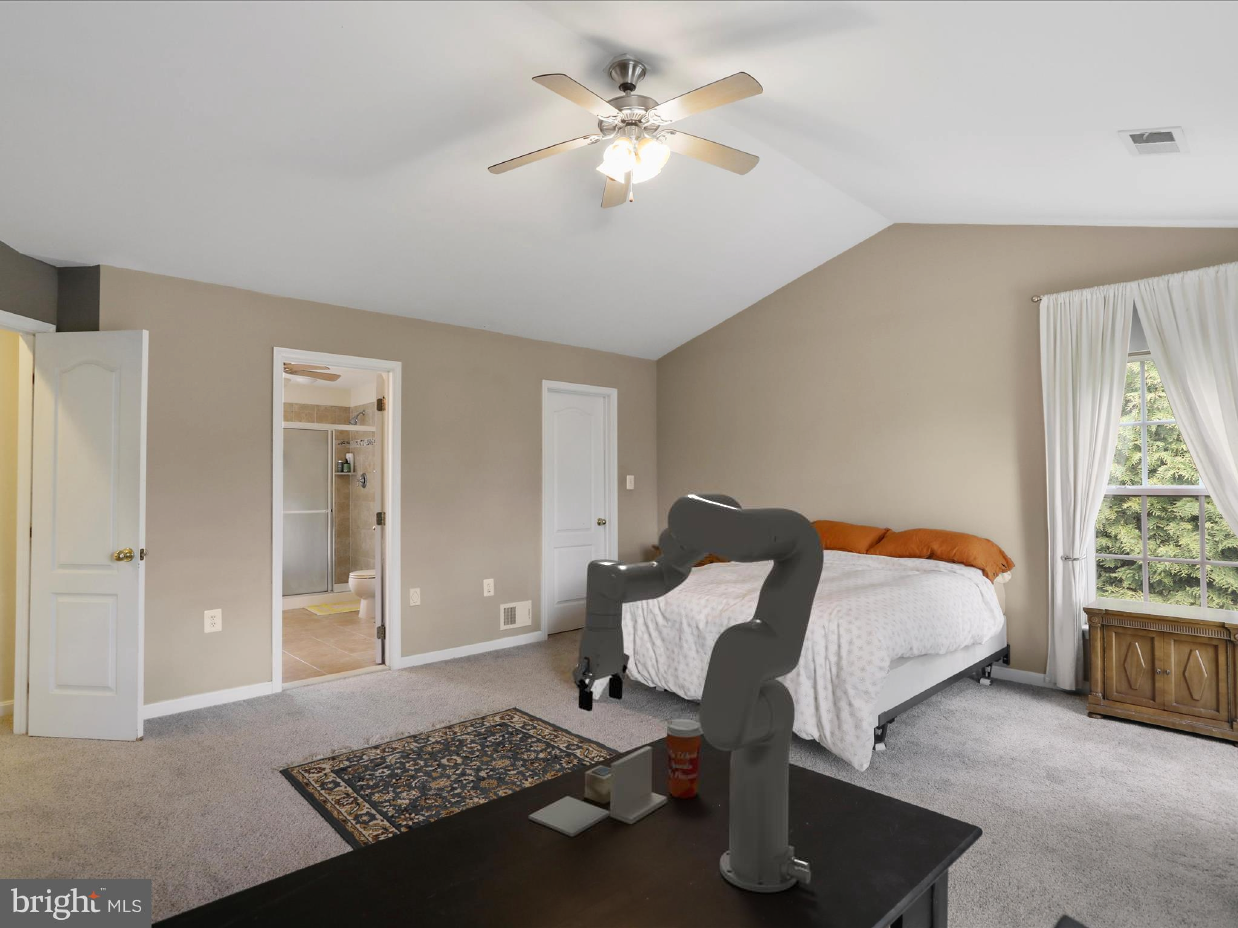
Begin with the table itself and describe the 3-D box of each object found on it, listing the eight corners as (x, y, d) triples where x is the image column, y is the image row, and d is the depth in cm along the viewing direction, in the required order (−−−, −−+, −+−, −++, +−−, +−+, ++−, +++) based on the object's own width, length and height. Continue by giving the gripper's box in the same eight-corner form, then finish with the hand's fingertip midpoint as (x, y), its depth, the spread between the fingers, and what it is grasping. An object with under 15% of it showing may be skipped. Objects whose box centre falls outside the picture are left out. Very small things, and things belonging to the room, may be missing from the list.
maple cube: (619, 795, 146) (619, 769, 146) (603, 804, 142) (604, 777, 142) (600, 789, 149) (600, 763, 149) (584, 797, 145) (585, 771, 145)
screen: (666, 802, 143) (667, 751, 143) (631, 824, 133) (631, 770, 134) (646, 795, 146) (647, 745, 146) (610, 816, 136) (610, 763, 137)
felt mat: (610, 814, 137) (610, 811, 137) (572, 836, 128) (572, 833, 128) (567, 798, 144) (567, 795, 144) (528, 818, 135) (528, 815, 135)
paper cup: (660, 797, 145) (661, 728, 145) (669, 782, 152) (669, 716, 153) (698, 802, 143) (699, 732, 143) (705, 787, 150) (706, 720, 150)
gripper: (615, 611, 156) (612, 690, 156) (561, 623, 142) (558, 709, 142) (643, 617, 151) (640, 697, 151) (590, 630, 137) (587, 718, 137)
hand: (600, 703), depth 146 cm, fingers open, 9 cm apart
